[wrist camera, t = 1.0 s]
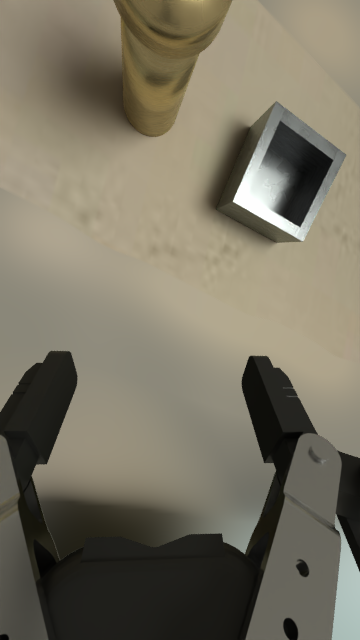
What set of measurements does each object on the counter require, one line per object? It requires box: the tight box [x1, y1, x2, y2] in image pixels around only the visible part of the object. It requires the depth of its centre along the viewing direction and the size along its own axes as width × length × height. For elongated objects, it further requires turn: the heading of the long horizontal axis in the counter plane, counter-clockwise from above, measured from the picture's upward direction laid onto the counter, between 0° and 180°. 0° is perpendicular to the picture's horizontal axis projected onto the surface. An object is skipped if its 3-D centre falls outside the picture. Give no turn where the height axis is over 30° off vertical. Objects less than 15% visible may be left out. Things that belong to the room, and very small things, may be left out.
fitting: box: [114, 0, 232, 137], centre depth 16 cm, size 6×6×13 cm
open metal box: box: [216, 101, 346, 243], centre depth 24 cm, size 9×9×4 cm
